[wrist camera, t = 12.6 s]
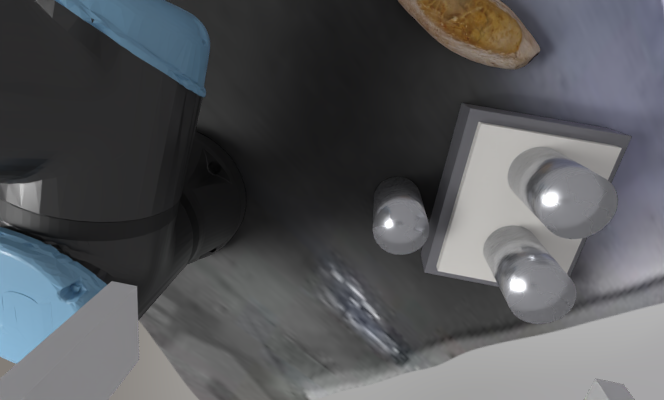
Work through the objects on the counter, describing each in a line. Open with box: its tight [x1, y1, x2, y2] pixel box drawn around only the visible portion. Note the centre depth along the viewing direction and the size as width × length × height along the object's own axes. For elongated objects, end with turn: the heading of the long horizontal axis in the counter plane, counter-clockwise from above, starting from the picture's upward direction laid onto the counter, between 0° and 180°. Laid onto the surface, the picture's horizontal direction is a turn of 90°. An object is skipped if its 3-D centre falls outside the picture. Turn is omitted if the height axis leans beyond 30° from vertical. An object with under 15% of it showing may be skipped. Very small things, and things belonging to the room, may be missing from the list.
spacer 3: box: [483, 225, 577, 324], centre depth 35 cm, size 5×5×8 cm
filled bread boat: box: [398, 0, 540, 70], centre depth 34 cm, size 5×14×4 cm, turn 60°
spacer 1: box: [373, 177, 429, 255], centre depth 39 cm, size 5×5×8 cm
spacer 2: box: [508, 147, 618, 239], centre depth 32 cm, size 5×5×8 cm
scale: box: [421, 103, 632, 287], centre depth 39 cm, size 15×17×5 cm
